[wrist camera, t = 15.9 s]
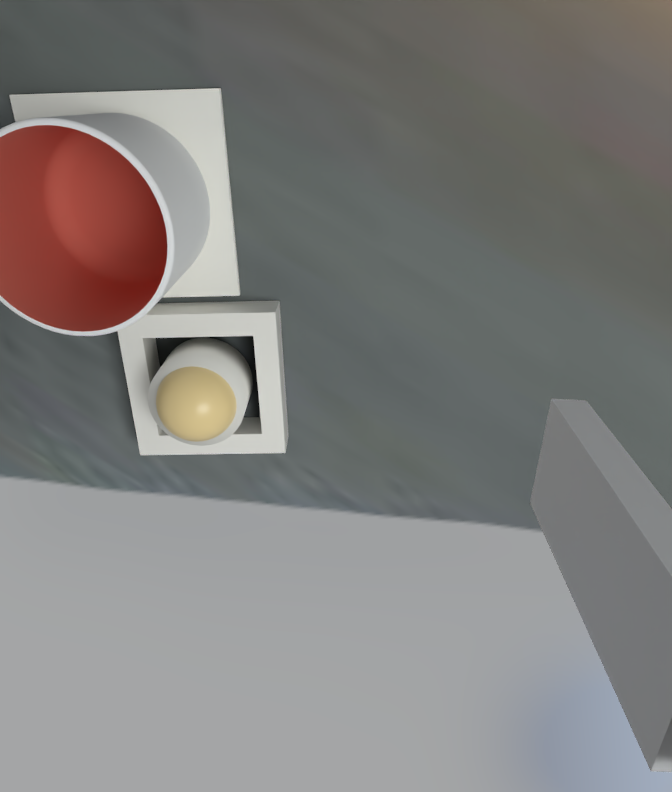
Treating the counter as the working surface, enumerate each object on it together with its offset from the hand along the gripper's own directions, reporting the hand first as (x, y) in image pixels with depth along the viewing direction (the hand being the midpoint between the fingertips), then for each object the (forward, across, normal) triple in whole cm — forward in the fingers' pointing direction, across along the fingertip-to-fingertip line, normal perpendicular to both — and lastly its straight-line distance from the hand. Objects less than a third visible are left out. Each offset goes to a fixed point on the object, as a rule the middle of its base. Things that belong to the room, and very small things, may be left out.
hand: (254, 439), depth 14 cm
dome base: (+28, -7, -10) cm, 30 cm away
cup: (+27, -11, +1) cm, 29 cm away
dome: (+26, -7, -10) cm, 29 cm away
